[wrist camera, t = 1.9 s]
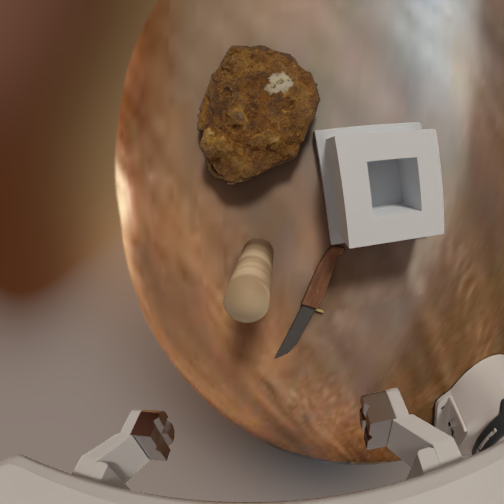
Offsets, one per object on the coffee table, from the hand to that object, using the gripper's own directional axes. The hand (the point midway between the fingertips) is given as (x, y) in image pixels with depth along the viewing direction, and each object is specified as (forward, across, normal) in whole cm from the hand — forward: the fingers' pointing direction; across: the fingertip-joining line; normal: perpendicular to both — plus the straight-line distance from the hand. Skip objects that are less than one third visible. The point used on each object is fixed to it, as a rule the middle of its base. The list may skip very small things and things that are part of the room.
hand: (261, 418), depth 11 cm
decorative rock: (+24, -1, -14) cm, 28 cm away
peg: (+24, +2, +1) cm, 24 cm away
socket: (+24, -12, -5) cm, 27 cm away
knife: (+24, -4, +9) cm, 26 cm away
